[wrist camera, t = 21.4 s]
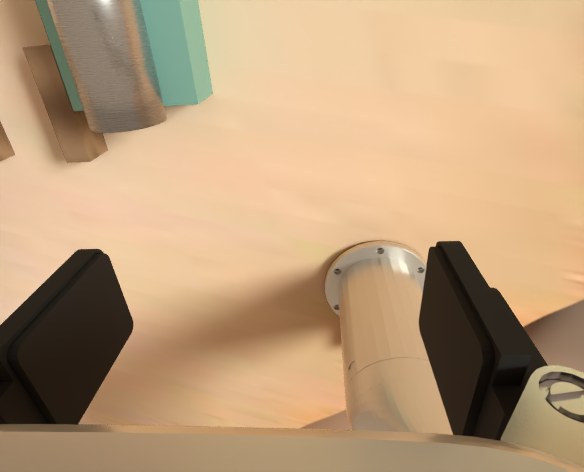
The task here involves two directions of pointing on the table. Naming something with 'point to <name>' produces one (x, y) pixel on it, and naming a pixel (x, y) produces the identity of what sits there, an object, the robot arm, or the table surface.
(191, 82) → the teal V-block
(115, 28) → the steel axle
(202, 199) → the table surface
